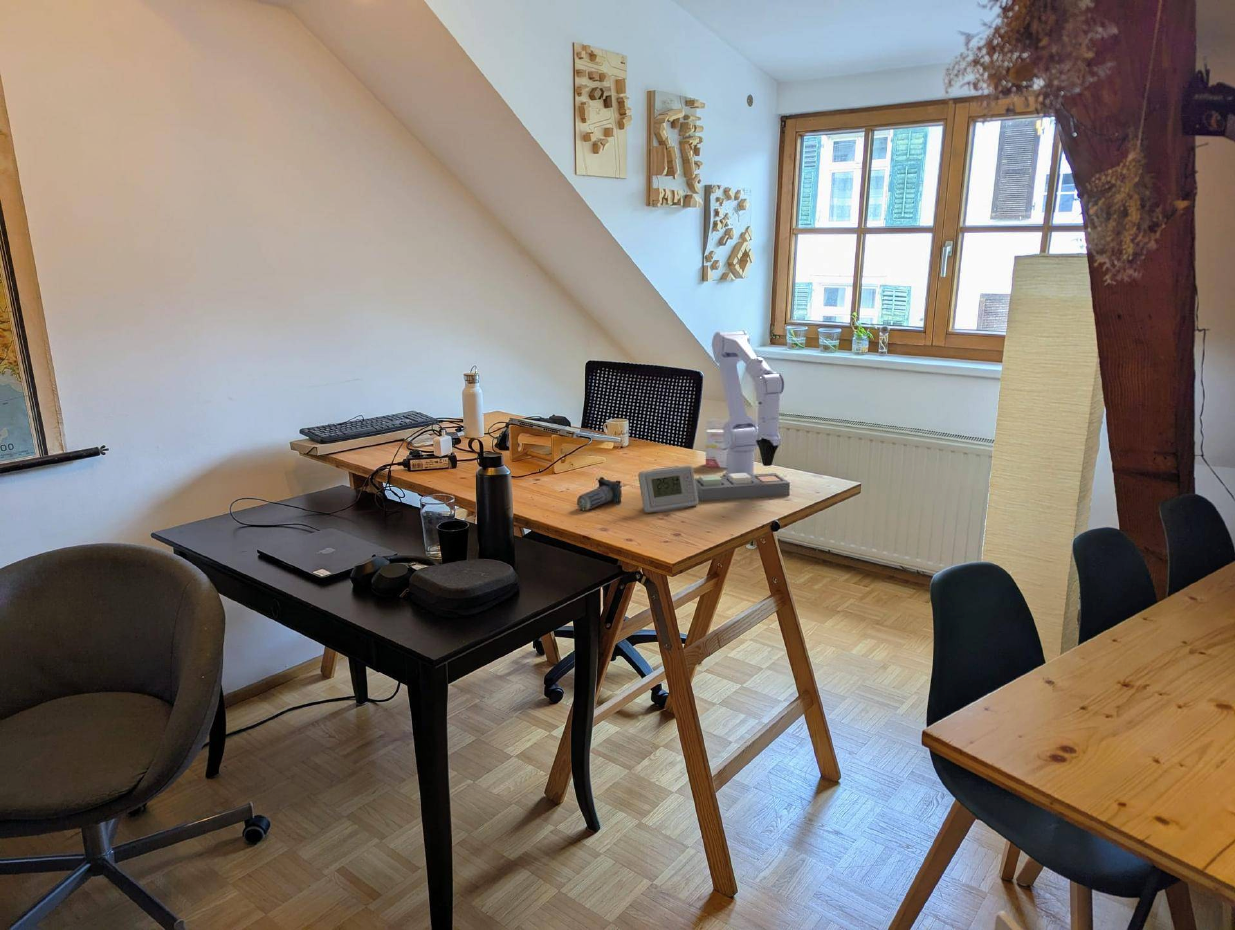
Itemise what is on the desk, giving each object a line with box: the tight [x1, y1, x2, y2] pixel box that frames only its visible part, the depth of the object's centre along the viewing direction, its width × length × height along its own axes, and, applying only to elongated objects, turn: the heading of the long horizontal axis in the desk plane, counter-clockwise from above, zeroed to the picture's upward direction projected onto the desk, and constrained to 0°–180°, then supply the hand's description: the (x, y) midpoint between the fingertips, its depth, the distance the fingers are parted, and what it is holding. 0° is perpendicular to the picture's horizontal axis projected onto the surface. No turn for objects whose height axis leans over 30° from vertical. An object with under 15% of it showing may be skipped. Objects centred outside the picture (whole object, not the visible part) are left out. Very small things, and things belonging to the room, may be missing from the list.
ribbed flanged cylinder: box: [576, 476, 623, 511], centre depth 212 cm, size 9×8×12 cm
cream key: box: [728, 473, 751, 484], centre depth 221 cm, size 5×5×2 cm
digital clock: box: [638, 464, 699, 514], centre depth 208 cm, size 16×9×11 cm, turn 102°
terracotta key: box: [757, 476, 781, 482], centre depth 223 cm, size 5×5×2 cm
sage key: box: [698, 474, 722, 486], centre depth 219 cm, size 5×5×2 cm
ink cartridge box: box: [705, 418, 729, 468], centre depth 250 cm, size 9×5×15 cm, turn 84°
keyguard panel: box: [694, 472, 791, 502], centre depth 221 cm, size 11×25×4 cm, turn 100°
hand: (767, 465), depth 221 cm, fingers closed
